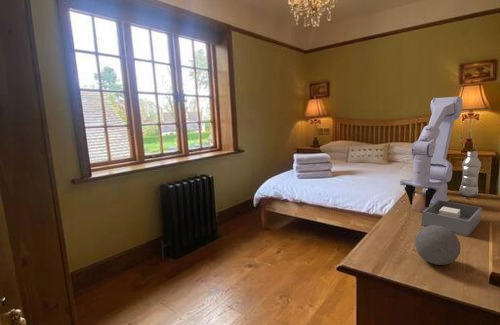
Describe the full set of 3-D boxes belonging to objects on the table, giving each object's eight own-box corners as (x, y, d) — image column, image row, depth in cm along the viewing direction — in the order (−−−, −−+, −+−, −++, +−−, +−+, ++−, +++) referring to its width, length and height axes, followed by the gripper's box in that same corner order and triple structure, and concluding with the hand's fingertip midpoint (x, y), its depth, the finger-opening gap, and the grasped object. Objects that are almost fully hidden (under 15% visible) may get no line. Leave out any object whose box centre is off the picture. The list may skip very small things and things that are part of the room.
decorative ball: (468, 269, 72) (472, 232, 70) (435, 275, 70) (438, 237, 68) (435, 250, 81) (438, 217, 80) (405, 255, 79) (407, 222, 78)
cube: (442, 219, 101) (443, 206, 100) (459, 223, 98) (460, 209, 97) (437, 224, 98) (439, 210, 97) (455, 227, 94) (456, 213, 94)
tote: (437, 212, 110) (438, 199, 109) (480, 221, 100) (481, 207, 99) (421, 225, 99) (422, 211, 98) (467, 236, 89) (469, 221, 88)
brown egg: (414, 207, 117) (415, 190, 116) (428, 209, 113) (429, 192, 112) (409, 210, 114) (410, 193, 112) (423, 213, 110) (425, 195, 109)
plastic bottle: (460, 192, 133) (464, 150, 129) (478, 195, 128) (483, 151, 124) (457, 196, 128) (461, 152, 125) (476, 199, 123) (481, 153, 120)
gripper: (397, 171, 114) (396, 203, 116) (439, 176, 103) (437, 212, 105) (404, 168, 118) (403, 199, 120) (445, 173, 107) (443, 207, 110)
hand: (419, 205), depth 113 cm, fingers closed on brown egg, 5 cm apart
